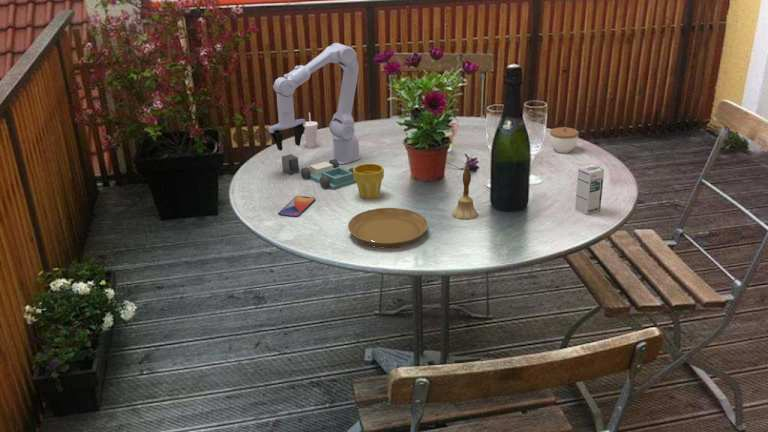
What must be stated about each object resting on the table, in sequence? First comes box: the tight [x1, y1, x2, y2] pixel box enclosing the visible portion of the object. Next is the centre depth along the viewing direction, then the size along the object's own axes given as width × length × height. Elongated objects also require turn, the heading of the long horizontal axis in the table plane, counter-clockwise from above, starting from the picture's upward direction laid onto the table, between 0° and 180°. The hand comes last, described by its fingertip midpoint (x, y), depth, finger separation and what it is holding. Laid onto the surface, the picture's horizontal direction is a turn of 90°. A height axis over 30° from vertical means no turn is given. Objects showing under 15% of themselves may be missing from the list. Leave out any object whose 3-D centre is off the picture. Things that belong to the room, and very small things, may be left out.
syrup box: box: [574, 164, 605, 216], centre depth 228 cm, size 6×6×14 cm
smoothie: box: [303, 112, 319, 149], centre depth 292 cm, size 6×6×14 cm
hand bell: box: [451, 166, 479, 221], centre depth 227 cm, size 8×8×16 cm
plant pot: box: [353, 163, 385, 200], centre depth 245 cm, size 10×10×10 cm
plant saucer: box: [347, 207, 429, 249], centre depth 219 cm, size 24×24×3 cm
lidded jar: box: [549, 126, 580, 154], centre depth 281 cm, size 11×11×9 cm
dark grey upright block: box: [281, 153, 300, 176], centre depth 267 cm, size 4×5×6 cm
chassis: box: [300, 159, 357, 191], centre depth 261 cm, size 14×20×4 cm
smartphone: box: [277, 195, 317, 218], centre depth 239 cm, size 7×15×1 cm, turn 161°
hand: (288, 147), depth 265 cm, fingers open, 7 cm apart
